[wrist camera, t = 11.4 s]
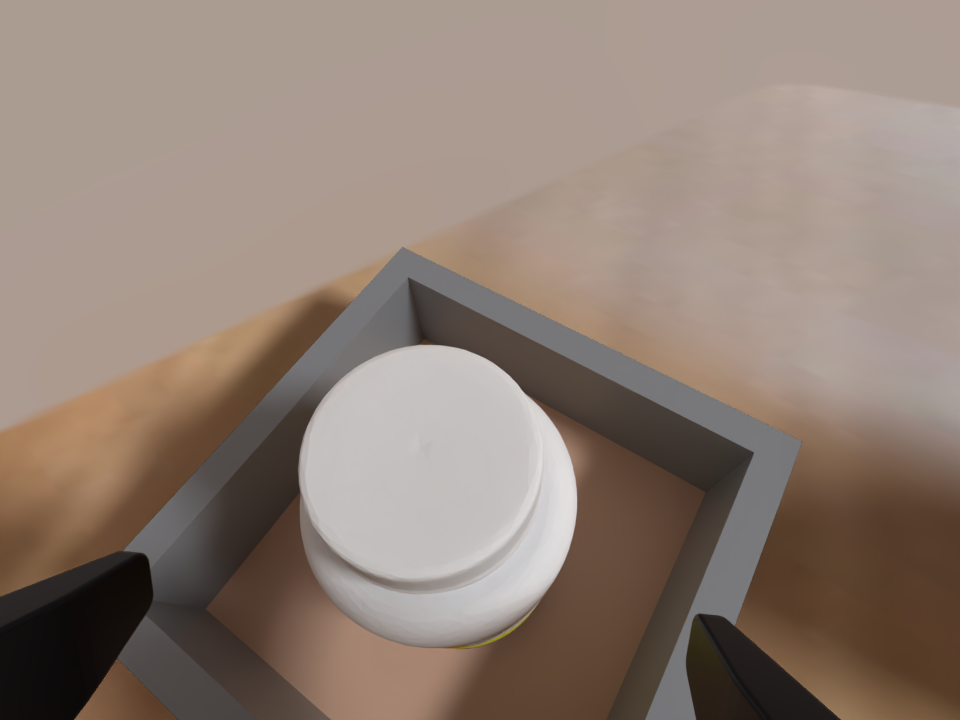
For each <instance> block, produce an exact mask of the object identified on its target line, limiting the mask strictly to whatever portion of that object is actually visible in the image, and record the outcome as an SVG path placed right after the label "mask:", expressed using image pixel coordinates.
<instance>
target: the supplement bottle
mask: <svg viewBox="0 0 960 720" xmlns="http://www.w3.org/2000/svg"><path fill="white" fill-rule="evenodd" d="M298 477H299V487H300V493H301V497H300V528H301V535H302V541H303V545H304V550H305V553H306V556H307V559H308V562H309V565H310V567H311V569H312V571H313V574H314V576H315V578H316V579H317V581H318V583H319V584H320V586H321V587H322V589H323V590H324V592H325V593H326V595H327V596H328V597H329V599H330V600H331V601H332V602H333V603H334V605H335V606H336V607H337V608H338V609H339V610H340V611H342V612H343V613H344V614H345V615H346V616H347V617H348V618H350V619H351V620H352V621H353V622H355V623H356V624H358V625H359V626H361V627H362V628H364V629H365V630H367V631H369V632H371V633H373V634H375V635H377V636H379V637H382V638H384V639H387V640H390V641H393V642H396V643H400V644H403V645H407V646H413V647H421V648H447V649H470V648H477V647H481V646H484V645H488V644H491V643H493V642H496V641H498V640H500V639H502V638H503V637H505V636H507V635H508V634H510V633H511V632H513V631H514V630H515V629H516V628H518V627H519V626H520V625H521V624H522V623H523V622H524V621H525V620H526V619H527V618H528V617H529V616H530V614H531V613H532V611H533V610H534V609H535V607H536V606H537V605H538V603H539V602H540V600H541V599H542V598H543V596H544V595H545V593H546V592H547V591H548V589H549V588H550V586H551V585H552V584H553V582H554V580H555V579H556V577H557V575H558V573H559V571H560V569H561V567H562V565H563V564H564V561H565V559H566V556H567V553H568V551H569V548H570V544H571V541H572V537H573V533H574V528H575V523H576V515H577V488H576V479H575V475H574V471H573V465H572V462H571V458H570V456H569V453H568V450H567V448H566V446H565V443H564V441H563V439H562V437H561V435H560V433H559V432H558V430H557V428H556V427H555V425H554V424H553V422H552V421H551V420H550V418H549V417H548V416H547V415H546V413H545V412H544V411H543V410H542V409H541V408H540V407H539V406H538V405H537V404H536V403H535V402H534V401H533V400H532V399H531V398H529V397H528V396H527V395H526V394H525V393H524V392H523V391H522V390H521V388H520V387H519V385H518V384H517V383H516V382H515V381H514V380H513V379H512V378H511V377H510V376H509V375H508V374H507V373H506V372H504V371H503V370H502V369H501V368H499V367H498V366H497V365H495V364H494V363H492V362H491V361H489V360H487V359H485V358H484V357H481V356H479V355H477V354H474V353H472V352H469V351H467V350H463V349H459V348H455V347H449V346H442V345H415V346H408V347H403V348H398V349H395V350H391V351H388V352H385V353H383V354H380V355H377V356H375V357H373V358H371V359H369V360H367V361H366V362H364V363H362V364H360V365H359V366H357V367H355V368H354V369H353V370H352V371H350V372H349V373H348V374H346V375H345V376H344V377H343V378H341V379H340V380H339V381H338V382H337V383H336V384H335V385H334V386H333V387H332V388H331V390H330V391H329V392H328V393H327V394H326V395H325V397H324V398H323V399H322V401H321V402H320V404H319V405H318V407H317V408H316V410H315V412H314V414H313V416H312V418H311V420H310V422H309V424H308V426H307V428H306V431H305V433H304V436H303V440H302V444H301V448H300V455H299V465H298Z"/></svg>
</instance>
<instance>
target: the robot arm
mask: <svg viewBox="0 0 960 720" xmlns="http://www.w3.org/2000/svg"><path fill="white" fill-rule="evenodd" d="M153 596H154V592H153V585H152V577H151V570H150V563H149V559H148V557H147V556H146V555H145V554H143V553H140V552H131V551H119V552H116V553H113V554H110V555H108V556H105V557H103V558H100V559H97V560H95V561H92V562H90V563H87V564H84V565H82V566H79V567H77V568H74V569H71V570H69V571H66V572H64V573H61V574H58V575H56V576H53V577H51V578H48V579H45V580H43V581H40V582H38V583H35V584H32V585H30V586H27V587H25V588H22V589H19V590H17V591H14V592H12V593H9V594H6V595H4V596H1V597H0V720H74V719H75V718H76V717H77V715H78V714H79V713H80V711H81V710H82V709H83V707H84V706H85V705H86V703H87V702H88V701H89V699H90V698H91V696H92V695H93V693H94V692H95V690H96V689H97V688H98V686H99V685H100V683H101V682H102V680H103V679H104V677H105V676H106V674H107V673H108V671H109V670H110V668H111V667H112V665H113V664H114V662H115V661H116V659H117V658H118V656H119V655H120V653H121V652H122V650H123V649H124V647H125V646H126V644H127V643H128V641H129V640H130V638H131V637H132V635H133V634H134V632H135V631H136V629H137V627H138V626H139V624H140V623H141V621H142V620H143V618H144V617H145V615H146V614H147V612H148V611H149V609H150V607H151V605H152V601H153ZM686 672H687V678H688V683H689V687H690V692H691V697H692V702H693V707H694V712H695V717H696V720H841V719H840V718H838V717H837V716H836V715H835V714H834V713H833V712H832V711H831V710H829V709H828V708H827V707H826V706H825V705H824V704H823V703H821V702H820V701H819V700H818V699H817V698H816V697H815V696H814V695H812V694H811V693H810V692H809V691H808V690H807V689H806V688H804V687H803V686H802V685H801V684H800V683H799V682H798V681H797V680H795V679H794V678H793V677H792V676H791V675H790V674H789V673H787V672H786V671H785V670H784V669H783V668H782V667H781V666H780V665H778V664H777V663H776V662H775V661H774V660H773V659H772V658H770V657H769V656H768V655H767V654H766V653H765V652H764V651H763V650H761V649H760V648H759V647H758V646H757V645H756V644H755V643H753V642H752V641H751V640H750V639H749V638H748V637H747V636H746V635H744V634H743V633H742V632H741V631H740V630H739V629H738V628H736V627H735V626H734V625H733V624H732V623H731V622H730V621H729V620H727V619H726V618H725V617H723V616H719V615H711V614H701V613H698V614H697V615H695V616H694V618H693V621H692V626H691V631H690V637H689V643H688V648H687V654H686Z"/></svg>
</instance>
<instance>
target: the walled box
mask: <svg viewBox="0 0 960 720" xmlns="http://www.w3.org/2000/svg"><path fill="white" fill-rule="evenodd" d="M415 345H442V346H449V347H455V348H459V349H463V350H467V351H469V352H472V353H474V354H477V355H479V356H481V357H484V358H485V359H487V360H489V361H491V362H492V363H494V364H495V365H497V366H498V367H499V368H501V369H502V370H503V371H504V372H506V373H507V374H508V375H509V376H510V377H511V378H512V379H513V380H514V381H515V382H516V383H517V384H518V385H519V387H520V388H521V390H522V391H523V392H524V393H525V394H526V395H527V396H528V397H529V398H531V399H532V400H533V401H534V402H535V403H536V404H537V405H538V406H539V407H540V408H541V409H542V410H543V411H544V412H545V413H546V415H547V416H548V417H549V418H550V420H551V421H552V422H553V424H554V425H555V427H556V428H557V430H558V432H559V433H560V435H561V437H562V439H563V441H564V443H565V446H566V448H567V450H568V453H569V456H570V458H571V462H572V465H573V471H574V475H575V479H576V488H577V515H576V523H575V528H574V533H573V537H572V541H571V544H570V548H569V551H568V553H567V556H566V559H565V561H564V564H563V565H562V567H561V569H560V571H559V573H558V575H557V577H556V579H555V580H554V582H553V584H552V585H551V586H550V588H549V589H548V591H547V592H546V593H545V595H544V596H543V598H542V599H541V600H540V602H539V603H538V605H537V606H536V607H535V609H534V610H533V611H532V613H531V614H530V616H529V617H528V618H527V619H526V620H525V621H524V622H523V623H522V624H521V625H520V626H519V627H518V628H516V629H515V630H514V631H513V632H511V633H510V634H508V635H507V636H505V637H503V638H502V639H500V640H498V641H496V642H493V643H491V644H488V645H484V646H481V647H477V648H470V649H447V648H421V647H413V646H407V645H403V644H400V643H396V642H393V641H390V640H387V639H384V638H382V637H379V636H377V635H375V634H373V633H371V632H369V631H367V630H365V629H364V628H362V627H361V626H359V625H358V624H356V623H355V622H353V621H352V620H351V619H350V618H348V617H347V616H346V615H345V614H344V613H343V612H342V611H340V610H339V609H338V608H337V607H336V606H335V605H334V603H333V602H332V601H331V600H330V599H329V597H328V596H327V595H326V593H325V592H324V590H323V589H322V587H321V586H320V584H319V583H318V581H317V579H316V578H315V576H314V574H313V571H312V569H311V567H310V565H309V562H308V559H307V556H306V553H305V550H304V545H303V541H302V535H301V528H300V497H301V493H300V487H299V477H298V465H299V455H300V448H301V444H302V440H303V436H304V433H305V431H306V428H307V426H308V424H309V422H310V420H311V418H312V416H313V414H314V412H315V410H316V408H317V407H318V405H319V404H320V402H321V401H322V399H323V398H324V397H325V395H326V394H327V393H328V392H329V391H330V390H331V388H332V387H333V386H334V385H335V384H336V383H337V382H338V381H339V380H340V379H341V378H343V377H344V376H345V375H346V374H348V373H349V372H350V371H352V370H353V369H354V368H355V367H357V366H359V365H360V364H362V363H364V362H366V361H367V360H369V359H371V358H373V357H375V356H377V355H380V354H383V353H385V352H388V351H391V350H395V349H398V348H403V347H408V346H415ZM801 444H802V441H800V440H798V439H796V438H794V437H792V436H790V435H788V434H786V433H784V432H782V431H780V430H777V429H775V428H773V427H771V426H769V425H767V424H765V423H763V422H761V421H759V420H757V419H755V418H753V417H751V416H749V415H747V414H745V413H743V412H740V411H738V410H736V409H734V408H732V407H730V406H728V405H726V404H724V403H722V402H720V401H718V400H716V399H714V398H712V397H710V396H708V395H706V394H703V393H701V392H699V391H697V390H695V389H693V388H691V387H689V386H687V385H685V384H683V383H681V382H679V381H677V380H675V379H673V378H671V377H669V376H666V375H664V374H662V373H660V372H658V371H656V370H654V369H652V368H650V367H648V366H646V365H644V364H642V363H640V362H638V361H636V360H634V359H632V358H629V357H627V356H625V355H623V354H621V353H619V352H617V351H615V350H613V349H611V348H609V347H607V346H605V345H603V344H601V343H599V342H597V341H595V340H593V339H590V338H588V337H586V336H584V335H582V334H580V333H578V332H576V331H574V330H572V329H570V328H568V327H566V326H564V325H562V324H560V323H558V322H556V321H553V320H551V319H549V318H547V317H545V316H543V315H541V314H539V313H537V312H535V311H533V310H531V309H529V308H527V307H525V306H523V305H521V304H519V303H516V302H514V301H512V300H510V299H508V298H506V297H504V296H502V295H500V294H498V293H496V292H494V291H492V290H490V289H488V288H486V287H484V286H482V285H479V284H477V283H475V282H473V281H471V280H469V279H467V278H465V277H463V276H461V275H459V274H457V273H455V272H453V271H451V270H449V269H447V268H445V267H442V266H440V265H438V264H436V263H434V262H432V261H430V260H428V259H426V258H424V257H422V256H420V255H418V254H416V253H414V252H412V251H410V250H408V249H405V248H403V247H402V248H401V249H400V250H399V251H398V252H397V254H396V255H395V256H394V257H393V258H392V259H391V260H390V261H389V262H388V263H387V264H386V266H385V267H384V268H383V269H382V270H381V271H380V272H379V273H378V274H377V275H376V276H375V277H374V279H373V280H372V281H371V282H370V283H369V284H368V285H367V286H366V287H365V288H364V289H363V290H362V292H361V293H360V294H359V295H358V296H357V297H356V298H355V299H354V300H353V301H352V302H351V304H350V305H349V306H348V307H347V308H346V309H345V310H344V311H343V312H342V313H341V314H340V315H339V317H338V318H337V319H336V320H335V321H334V322H333V323H332V324H331V325H330V326H329V327H328V329H327V330H326V331H325V332H324V333H323V334H322V335H321V336H320V337H319V338H318V339H317V340H316V342H315V343H314V344H313V345H312V346H311V347H310V348H309V349H308V350H307V351H306V352H305V353H304V355H303V356H302V357H301V358H300V359H299V360H298V361H297V362H296V363H295V364H294V365H293V367H292V368H291V369H290V370H289V371H288V372H287V373H286V374H285V375H284V376H283V377H282V378H281V380H280V381H279V382H278V383H277V384H276V385H275V386H274V387H273V388H272V389H271V390H270V392H269V393H268V394H267V395H266V396H265V397H264V398H263V399H262V400H261V401H260V402H259V403H258V405H257V406H256V407H255V408H254V409H253V410H252V411H251V412H250V413H249V414H248V415H247V416H246V418H245V419H244V420H243V421H242V422H241V423H240V424H239V425H238V426H237V427H236V428H235V430H234V431H233V432H232V433H231V434H230V435H229V436H228V437H227V438H226V439H225V440H224V441H223V443H222V444H221V445H220V446H219V447H218V448H217V449H216V450H215V451H214V452H213V453H212V455H211V456H210V457H209V458H208V459H207V460H206V461H205V462H204V463H203V464H202V465H201V466H200V468H199V469H198V470H197V471H196V472H195V473H194V474H193V475H192V476H191V477H190V478H189V479H188V481H187V482H186V483H185V484H184V485H183V486H182V487H181V488H180V489H179V490H178V491H177V493H176V494H175V495H174V496H173V497H172V498H171V499H170V500H169V501H168V502H167V503H166V504H165V506H164V507H163V508H162V509H161V510H160V511H159V512H158V513H157V514H156V515H155V516H154V518H153V519H152V520H151V521H150V522H149V523H148V524H147V525H146V526H145V527H144V528H143V529H142V531H141V532H140V533H139V534H138V535H137V536H136V537H135V538H134V539H133V540H132V541H131V543H130V544H129V545H128V546H127V547H126V548H125V549H124V550H123V551H131V552H140V553H143V554H145V555H146V556H147V557H148V559H149V563H150V570H151V577H152V585H153V592H154V596H153V601H152V605H151V607H150V609H149V611H148V612H147V614H146V615H145V617H144V618H143V620H142V621H141V623H140V624H139V626H138V627H137V629H136V631H135V632H134V634H133V635H132V637H131V638H130V640H129V641H128V643H127V644H126V646H125V647H124V649H123V650H122V652H121V653H120V655H119V656H118V658H117V659H118V660H119V661H120V662H121V663H122V664H123V665H124V666H125V667H126V668H127V669H128V670H129V671H130V672H131V673H132V674H133V675H134V676H135V677H136V678H137V679H138V680H139V681H140V682H141V683H142V684H143V685H144V686H145V687H146V688H147V689H148V690H149V691H150V692H151V693H152V694H153V695H154V696H155V697H156V698H157V699H158V700H159V701H160V702H161V703H162V704H163V705H164V706H165V707H166V708H167V709H168V710H169V711H170V712H171V713H172V714H173V715H174V716H175V717H176V718H177V719H178V720H696V717H695V712H694V707H693V702H692V697H691V692H690V687H689V683H688V678H687V672H686V654H687V648H688V643H689V637H690V631H691V626H692V621H693V618H694V616H695V615H697V614H698V613H701V614H711V615H719V616H723V617H725V618H726V619H727V620H729V621H730V622H731V623H732V624H733V625H734V626H735V624H736V621H737V618H738V615H739V613H740V610H741V607H742V605H743V602H744V599H745V596H746V594H747V591H748V588H749V586H750V583H751V580H752V577H753V575H754V572H755V569H756V566H757V564H758V561H759V558H760V556H761V553H762V550H763V547H764V545H765V542H766V539H767V537H768V534H769V531H770V528H771V526H772V523H773V520H774V517H775V515H776V512H777V509H778V507H779V504H780V501H781V498H782V496H783V493H784V490H785V488H786V485H787V482H788V479H789V477H790V474H791V471H792V469H793V466H794V463H795V460H796V458H797V455H798V452H799V449H800V447H801Z"/></svg>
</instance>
